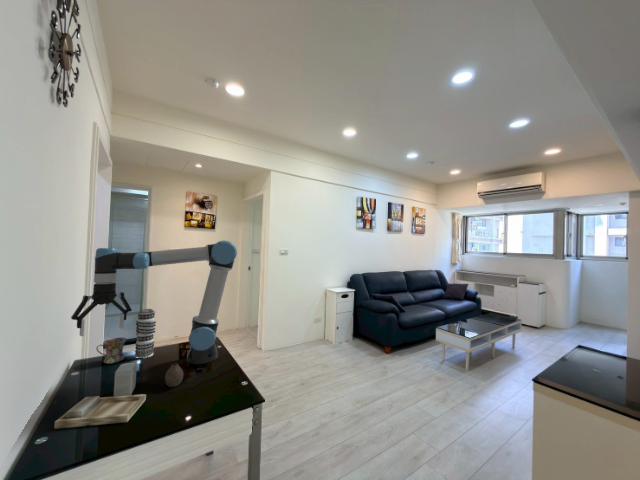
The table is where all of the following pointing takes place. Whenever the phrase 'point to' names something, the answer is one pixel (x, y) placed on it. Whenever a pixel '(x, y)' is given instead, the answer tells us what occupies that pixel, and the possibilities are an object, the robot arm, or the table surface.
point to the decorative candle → (145, 333)
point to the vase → (174, 375)
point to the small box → (125, 379)
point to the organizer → (101, 411)
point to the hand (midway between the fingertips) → (102, 331)
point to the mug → (113, 350)
